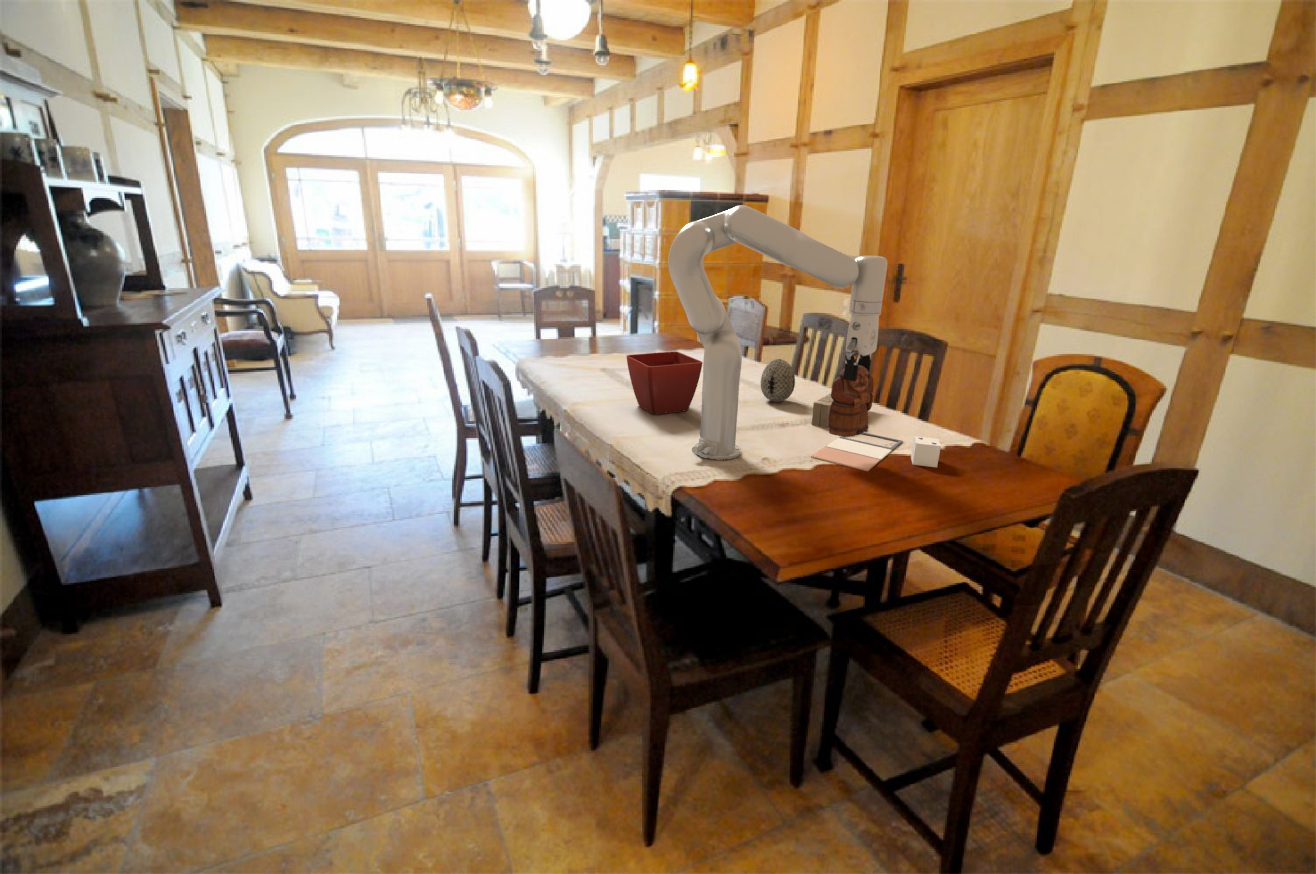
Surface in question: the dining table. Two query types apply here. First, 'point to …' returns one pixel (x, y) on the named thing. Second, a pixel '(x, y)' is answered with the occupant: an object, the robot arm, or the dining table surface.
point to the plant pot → (664, 380)
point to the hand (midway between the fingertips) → (856, 376)
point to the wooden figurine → (851, 404)
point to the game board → (855, 452)
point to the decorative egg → (777, 380)
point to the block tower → (822, 411)
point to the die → (925, 451)
